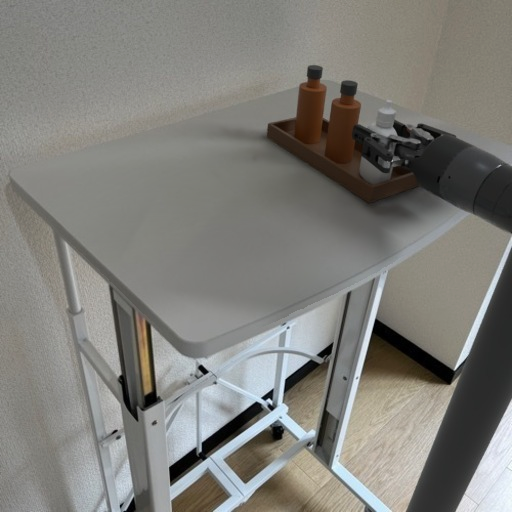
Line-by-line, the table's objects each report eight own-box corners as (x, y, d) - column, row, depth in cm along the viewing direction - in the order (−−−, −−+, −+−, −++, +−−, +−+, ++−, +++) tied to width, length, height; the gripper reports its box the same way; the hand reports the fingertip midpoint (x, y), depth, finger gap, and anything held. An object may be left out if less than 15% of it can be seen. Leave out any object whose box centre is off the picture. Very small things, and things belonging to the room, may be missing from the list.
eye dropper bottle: (387, 171, 85) (403, 95, 78) (389, 189, 80) (406, 110, 73) (358, 168, 85) (372, 92, 78) (359, 185, 81) (373, 106, 74)
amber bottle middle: (339, 149, 90) (350, 76, 83) (357, 159, 88) (370, 85, 81) (318, 154, 88) (328, 80, 81) (336, 165, 85) (348, 89, 78)
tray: (313, 126, 99) (314, 112, 97) (418, 186, 83) (422, 171, 81) (266, 137, 94) (267, 123, 93) (369, 203, 78) (372, 187, 76)
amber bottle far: (309, 131, 96) (317, 61, 89) (325, 140, 93) (335, 69, 86) (288, 136, 94) (295, 65, 86) (304, 146, 91) (313, 73, 84)
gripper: (507, 136, 70) (408, 94, 82) (431, 160, 64) (335, 110, 75) (489, 187, 75) (398, 141, 86) (417, 215, 68) (328, 160, 79)
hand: (369, 127), depth 80 cm, fingers open, 5 cm apart
